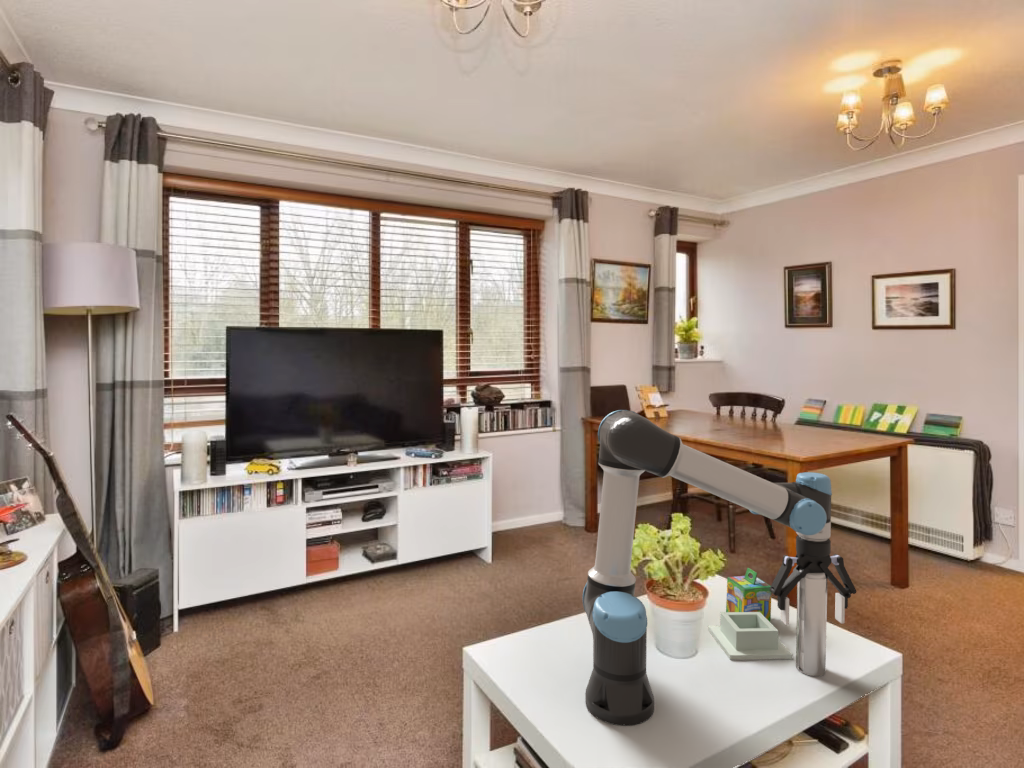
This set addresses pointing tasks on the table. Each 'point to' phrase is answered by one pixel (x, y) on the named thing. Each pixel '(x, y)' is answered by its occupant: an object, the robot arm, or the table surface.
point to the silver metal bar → (811, 624)
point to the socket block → (748, 637)
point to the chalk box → (748, 594)
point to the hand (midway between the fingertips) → (812, 621)
